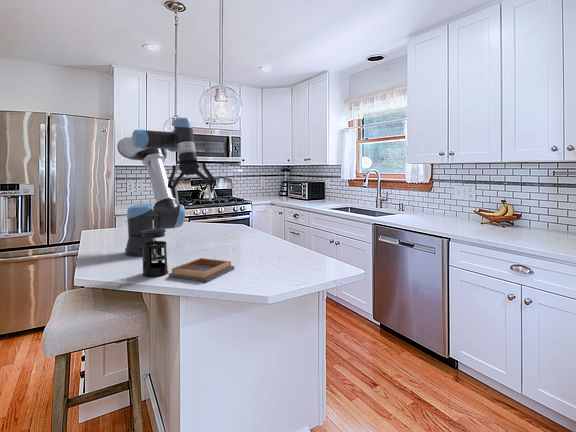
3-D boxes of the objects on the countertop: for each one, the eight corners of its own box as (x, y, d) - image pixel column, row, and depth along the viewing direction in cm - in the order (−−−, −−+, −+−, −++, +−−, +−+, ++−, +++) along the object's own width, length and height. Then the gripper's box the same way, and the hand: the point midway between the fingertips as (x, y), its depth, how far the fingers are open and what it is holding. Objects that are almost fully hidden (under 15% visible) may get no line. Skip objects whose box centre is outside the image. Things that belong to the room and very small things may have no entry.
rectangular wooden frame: (168, 277, 133) (168, 268, 133) (199, 264, 151) (199, 257, 150) (206, 282, 127) (206, 273, 127) (234, 269, 144) (234, 261, 144)
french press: (150, 269, 143) (147, 212, 140) (172, 270, 142) (170, 213, 140) (135, 278, 132) (132, 216, 129) (160, 279, 131) (157, 217, 128)
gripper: (156, 153, 146) (163, 203, 143) (217, 149, 154) (224, 196, 152) (156, 158, 153) (163, 207, 150) (215, 154, 161) (222, 200, 159)
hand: (194, 202), depth 151 cm, fingers open, 13 cm apart
